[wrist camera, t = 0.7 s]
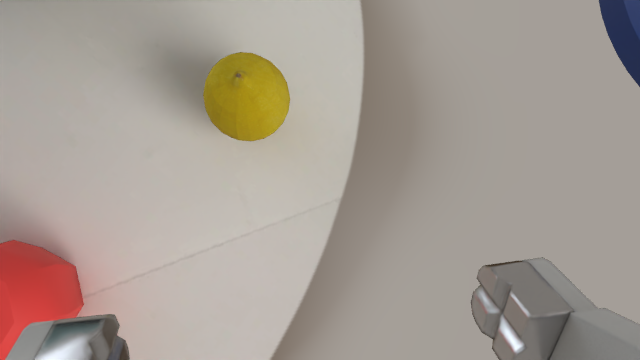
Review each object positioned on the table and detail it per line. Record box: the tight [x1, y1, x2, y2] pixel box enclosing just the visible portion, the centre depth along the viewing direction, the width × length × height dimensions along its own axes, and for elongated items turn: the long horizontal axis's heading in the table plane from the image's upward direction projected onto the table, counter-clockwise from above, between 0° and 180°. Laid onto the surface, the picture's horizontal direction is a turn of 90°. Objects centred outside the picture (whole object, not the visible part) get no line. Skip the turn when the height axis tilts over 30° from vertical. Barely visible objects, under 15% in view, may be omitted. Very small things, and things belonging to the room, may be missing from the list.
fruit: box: [203, 52, 290, 141], centre depth 26 cm, size 6×6×8 cm
